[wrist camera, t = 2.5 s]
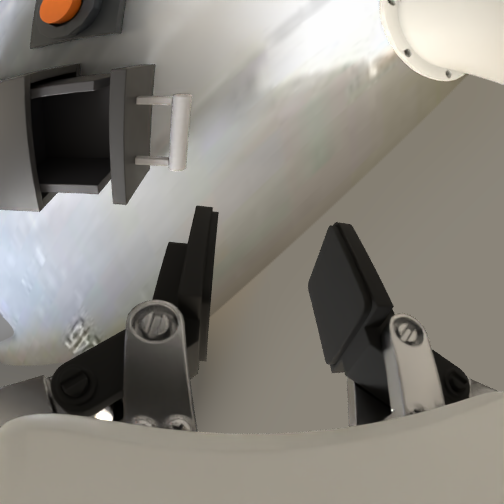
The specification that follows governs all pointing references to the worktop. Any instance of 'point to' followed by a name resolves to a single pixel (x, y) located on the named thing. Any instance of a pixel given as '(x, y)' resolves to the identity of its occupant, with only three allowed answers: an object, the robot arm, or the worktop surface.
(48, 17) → the button
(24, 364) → the worktop surface
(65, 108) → the drawer
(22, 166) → the dark grey cabinet
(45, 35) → the block
